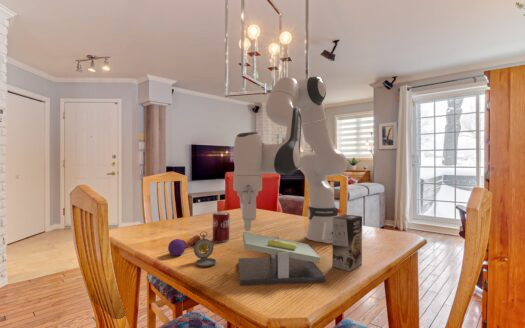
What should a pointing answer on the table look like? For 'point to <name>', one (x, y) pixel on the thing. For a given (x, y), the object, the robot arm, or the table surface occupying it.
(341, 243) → the coffee box
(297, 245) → the tilting platform
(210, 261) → the pocket watch
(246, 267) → the levelling stand
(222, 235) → the soda can
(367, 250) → the table surface
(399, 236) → the table surface
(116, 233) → the table surface
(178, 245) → the kendama
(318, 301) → the table surface
